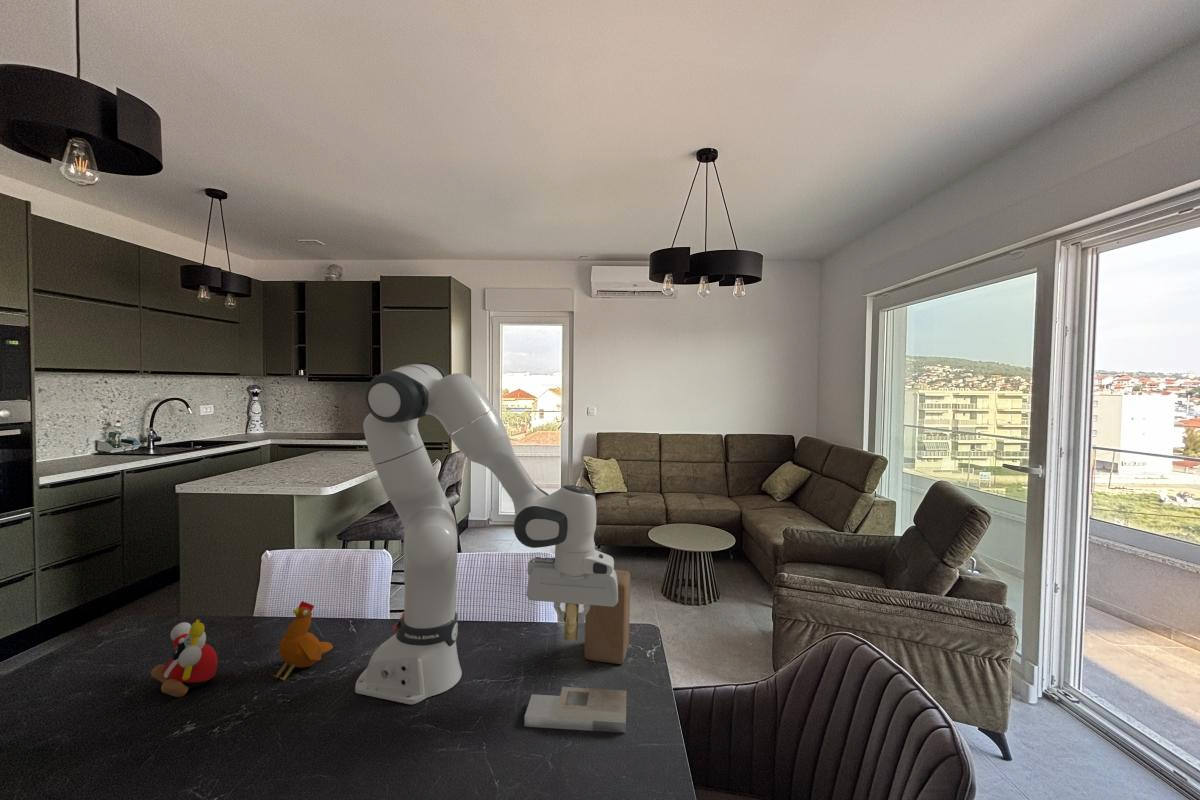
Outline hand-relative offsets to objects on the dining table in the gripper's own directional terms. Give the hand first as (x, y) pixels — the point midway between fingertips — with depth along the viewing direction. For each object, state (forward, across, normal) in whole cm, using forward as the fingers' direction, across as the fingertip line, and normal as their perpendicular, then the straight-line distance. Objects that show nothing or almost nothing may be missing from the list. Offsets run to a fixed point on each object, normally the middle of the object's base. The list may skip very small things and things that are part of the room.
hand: (571, 621), depth 108 cm
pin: (+4, 0, 0) cm, 4 cm away
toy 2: (+17, -63, +4) cm, 65 cm away
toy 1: (+18, -83, -6) cm, 85 cm away
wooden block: (+15, +8, +16) cm, 24 cm away
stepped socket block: (+15, +3, -9) cm, 18 cm away
